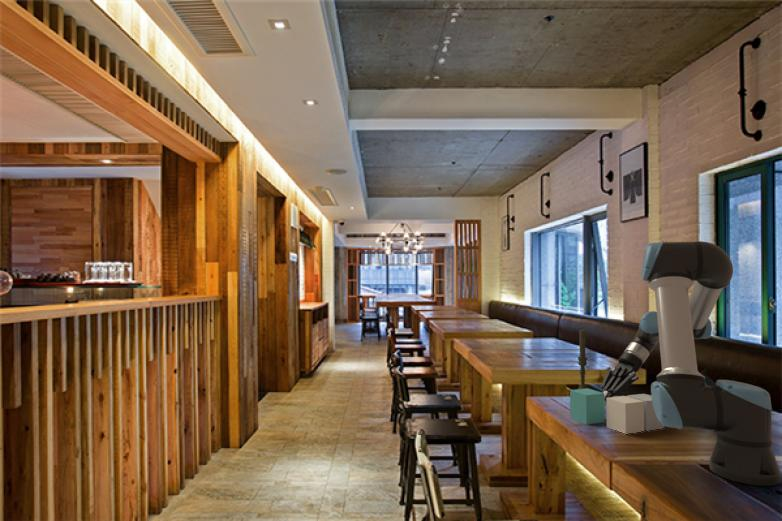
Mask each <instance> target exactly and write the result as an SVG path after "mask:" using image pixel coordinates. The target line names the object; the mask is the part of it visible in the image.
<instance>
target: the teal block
mask: <svg viewBox="0 0 782 521" xmlns="http://www.w3.org/2000/svg"><path fill="white" fill-rule="evenodd" d="M586 388H587V387H586ZM602 392H603V391H602ZM602 392H601V391H597V390H594V389H591V388H587V389H577V388H576V389H570V390H569V410H570V412H569V413H570V414H569V416H570V417H569V419H571V420H574V421H577V422H579V423H582V424H584V425H586V426H587V425H593V424H599V423H601V424H602V423H606V422H605V418H606V416H605V410H606V409H605V407H604V393H602Z"/></svg>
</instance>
